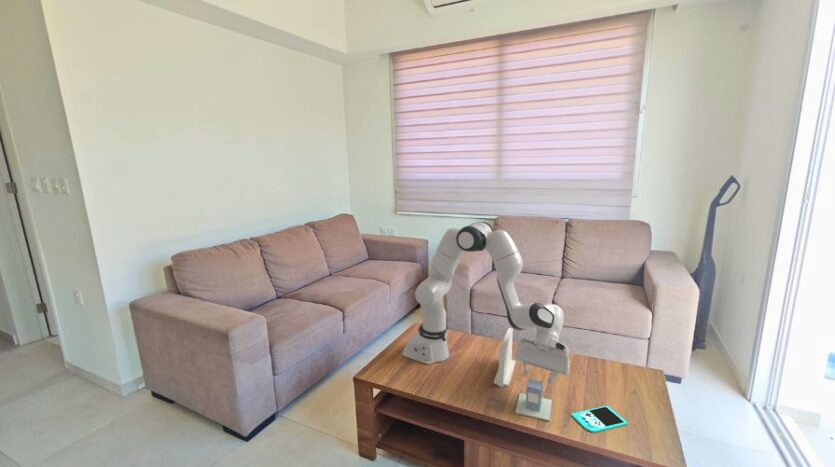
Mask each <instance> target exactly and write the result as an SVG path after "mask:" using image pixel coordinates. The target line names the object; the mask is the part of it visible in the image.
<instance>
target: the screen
mask: <svg viewBox="0 0 835 467" xmlns="http://www.w3.org/2000/svg"><path fill="white" fill-rule="evenodd" d="M513 333H514V328H513V327H512V328H511V327H508V329H507V331H506V333H505V336H504V338H503V341H502V343H501V345H500V348H499V350H498V351H499V353H498V354H499V355H498V369H497V371H496V375H495V378H494V380H493V384H494V385H497V386H498V387H499V388H500V387H501V388H504V387H507V388H509V386H510V384H511V379H512V376H513V372H514V369H515V366H516V361H517V360H516V359H513V357H512V356H513V335H514V334H513Z"/></svg>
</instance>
